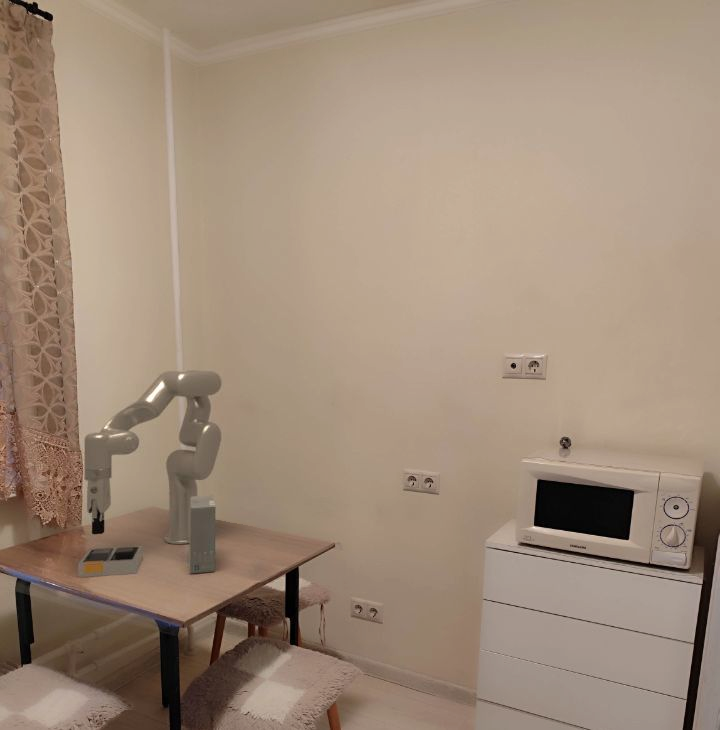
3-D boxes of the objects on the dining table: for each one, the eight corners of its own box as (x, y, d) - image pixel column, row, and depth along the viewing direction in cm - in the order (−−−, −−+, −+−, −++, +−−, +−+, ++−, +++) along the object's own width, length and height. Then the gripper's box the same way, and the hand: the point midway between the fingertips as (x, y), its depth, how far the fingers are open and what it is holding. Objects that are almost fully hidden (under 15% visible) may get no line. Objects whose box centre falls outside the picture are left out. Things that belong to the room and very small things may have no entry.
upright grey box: (111, 562, 179) (111, 548, 179) (108, 567, 175) (108, 552, 175) (95, 563, 178) (95, 548, 178) (91, 568, 174) (91, 553, 174)
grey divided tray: (142, 557, 185) (142, 541, 185) (135, 573, 172) (135, 556, 172) (89, 561, 182) (89, 544, 182) (77, 577, 169) (77, 559, 169)
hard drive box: (215, 572, 174) (215, 506, 173) (189, 575, 172) (189, 508, 171) (213, 554, 189) (213, 494, 188) (189, 556, 187) (189, 495, 186)
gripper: (105, 478, 169) (105, 540, 169) (116, 468, 184) (116, 525, 184) (78, 479, 168) (78, 542, 168) (91, 469, 182) (91, 526, 183)
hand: (98, 533), depth 176 cm, fingers closed
